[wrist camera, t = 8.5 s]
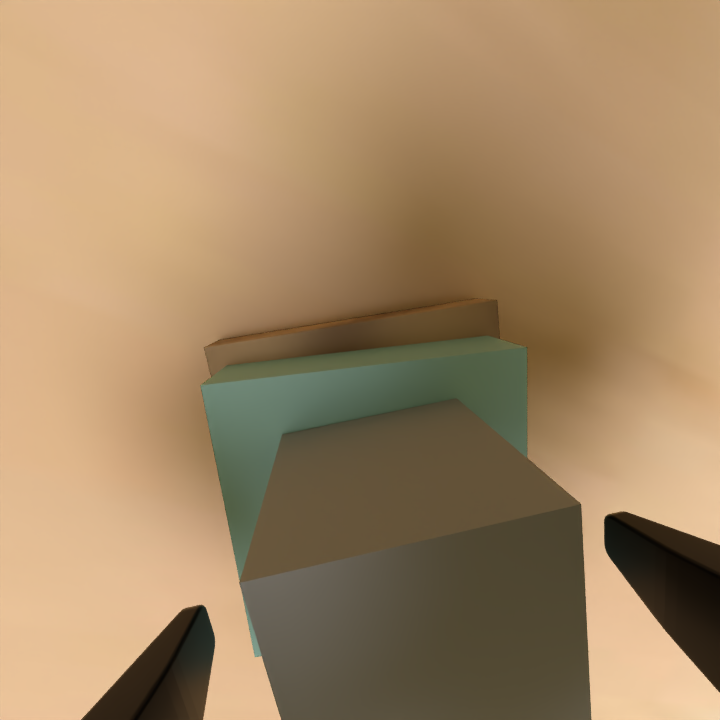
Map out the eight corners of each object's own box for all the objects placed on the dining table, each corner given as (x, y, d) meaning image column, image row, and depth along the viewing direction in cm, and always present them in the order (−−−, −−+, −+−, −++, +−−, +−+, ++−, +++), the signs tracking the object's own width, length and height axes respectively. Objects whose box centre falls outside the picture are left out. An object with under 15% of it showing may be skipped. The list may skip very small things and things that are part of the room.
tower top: (487, 335, 12) (527, 347, 10) (493, 555, 14) (527, 611, 12) (226, 365, 12) (200, 385, 9) (267, 591, 14) (255, 656, 11)
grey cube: (456, 398, 10) (581, 503, 5) (475, 546, 11) (592, 749, 6) (282, 434, 10) (239, 583, 5) (318, 583, 11) (314, 826, 6)
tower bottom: (468, 298, 15) (497, 299, 12) (486, 509, 17) (513, 547, 14) (224, 337, 14) (203, 347, 12) (275, 551, 16) (266, 598, 14)
